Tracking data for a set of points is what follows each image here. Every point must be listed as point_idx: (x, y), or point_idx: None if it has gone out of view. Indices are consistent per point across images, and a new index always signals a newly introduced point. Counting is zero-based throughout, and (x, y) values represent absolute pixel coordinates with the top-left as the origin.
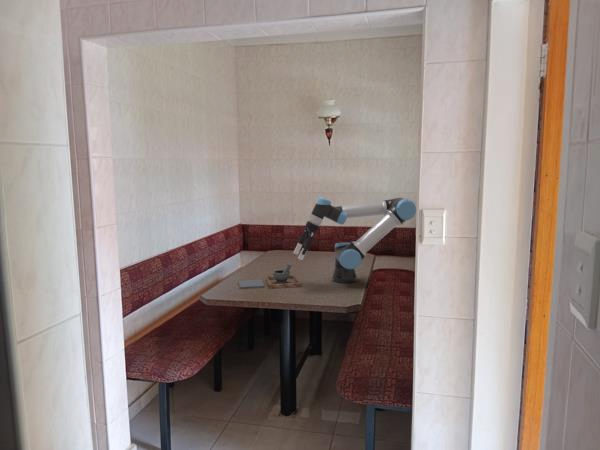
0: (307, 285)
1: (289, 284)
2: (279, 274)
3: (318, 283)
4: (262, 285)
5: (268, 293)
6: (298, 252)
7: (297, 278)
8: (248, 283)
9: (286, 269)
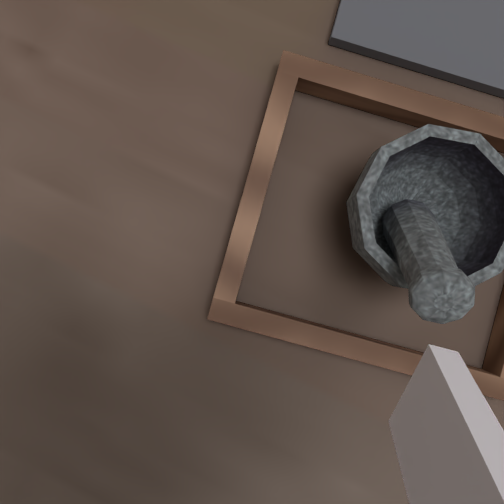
0: (222, 374)
1: (236, 217)
2: (372, 160)
3: (237, 485)
4: (345, 28)
5: (149, 3)
6: (401, 466)
7: (379, 361)
8: None
9: (411, 248)
